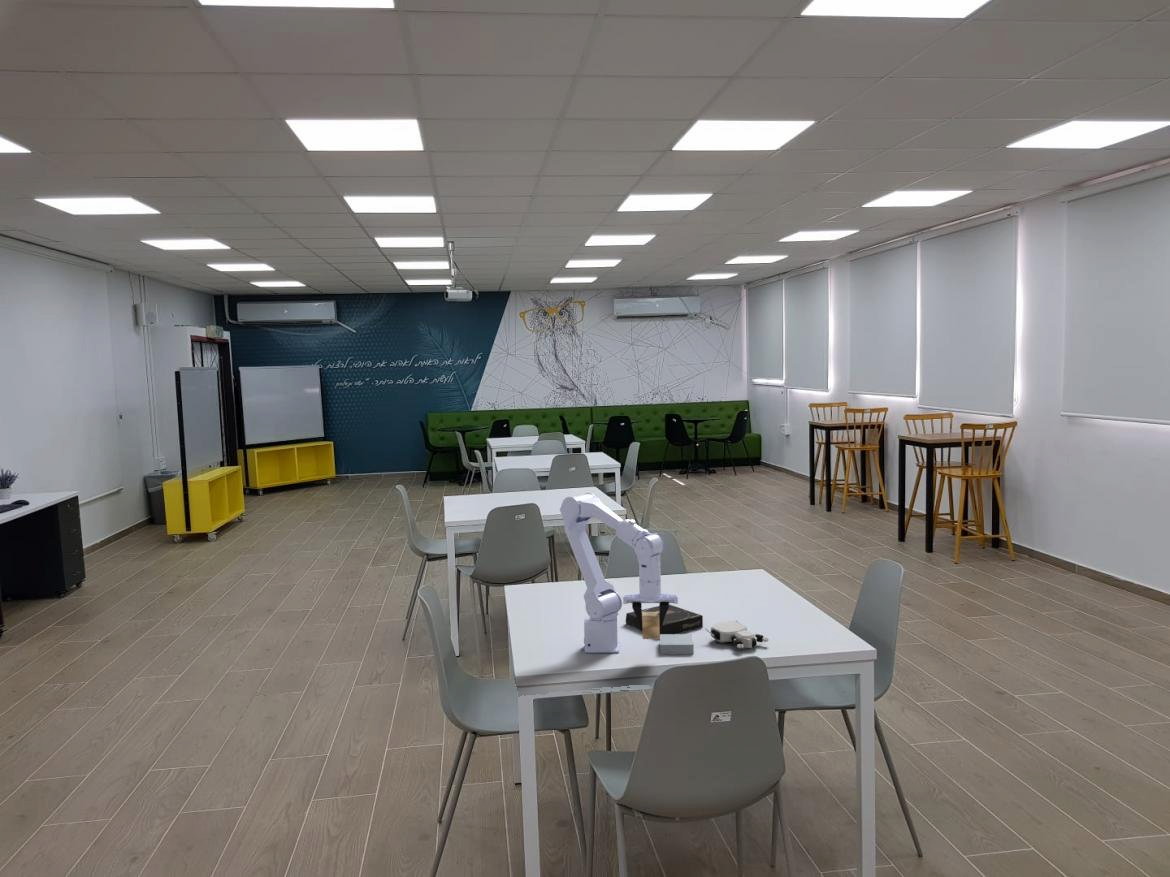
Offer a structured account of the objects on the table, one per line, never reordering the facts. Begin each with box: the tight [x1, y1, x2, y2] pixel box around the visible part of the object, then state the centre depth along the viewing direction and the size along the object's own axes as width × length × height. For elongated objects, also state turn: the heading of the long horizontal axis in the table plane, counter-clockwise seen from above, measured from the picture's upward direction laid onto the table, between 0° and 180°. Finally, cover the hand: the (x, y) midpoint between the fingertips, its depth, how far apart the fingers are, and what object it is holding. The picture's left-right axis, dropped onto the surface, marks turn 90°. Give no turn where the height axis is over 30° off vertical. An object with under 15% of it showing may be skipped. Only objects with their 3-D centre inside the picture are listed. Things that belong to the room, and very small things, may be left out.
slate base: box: [659, 633, 695, 655], centre depth 226 cm, size 9×9×3 cm
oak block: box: [642, 612, 660, 640], centre depth 217 cm, size 4×4×6 cm
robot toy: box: [704, 620, 769, 650], centre depth 229 cm, size 12×4×15 cm
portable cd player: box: [625, 603, 704, 634], centre depth 247 cm, size 16×17×4 cm
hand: (650, 629), depth 217 cm, fingers closed on oak block, 4 cm apart
